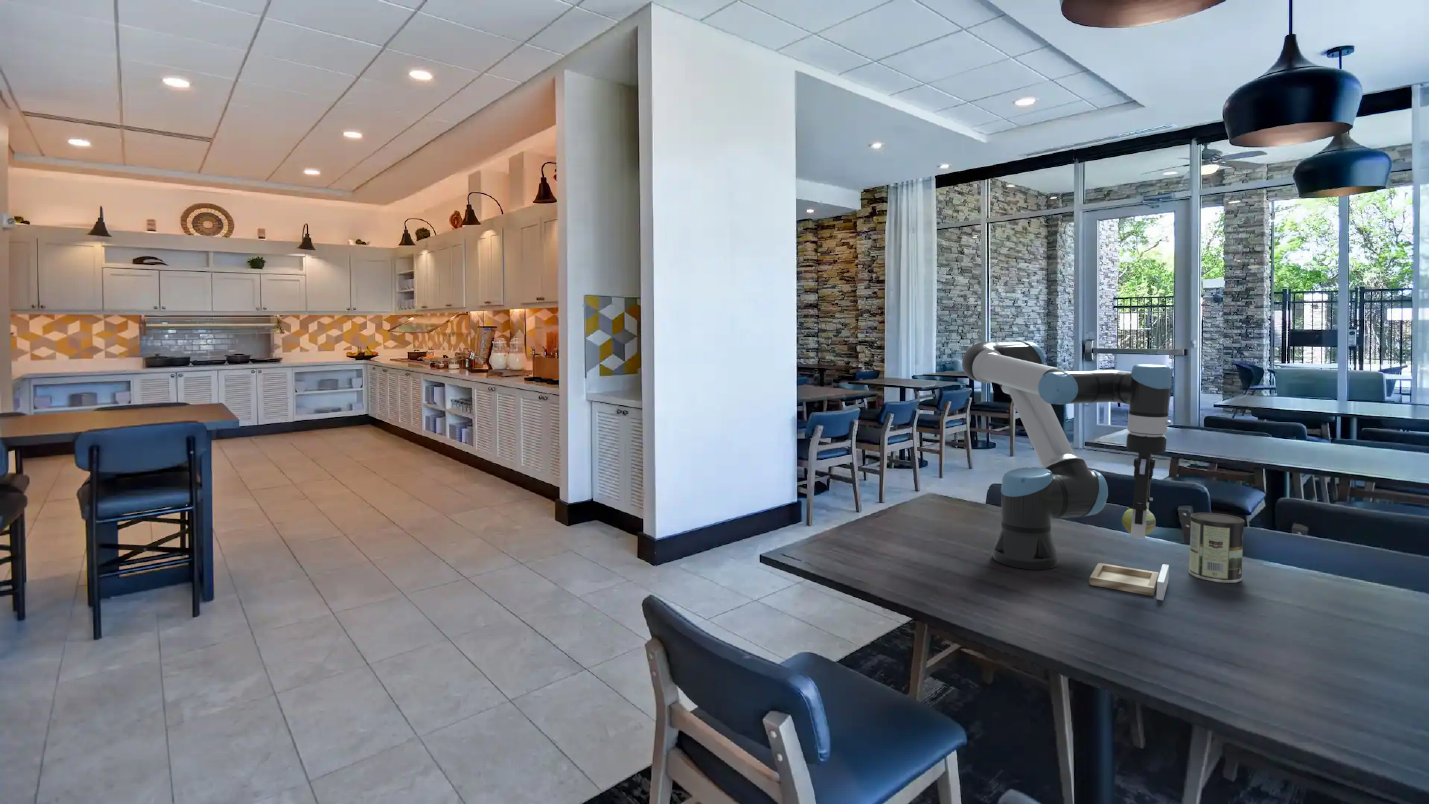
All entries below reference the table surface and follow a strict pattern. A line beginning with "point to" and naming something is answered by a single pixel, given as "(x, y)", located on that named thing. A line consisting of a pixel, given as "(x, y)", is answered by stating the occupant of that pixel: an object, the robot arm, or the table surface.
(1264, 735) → the table surface
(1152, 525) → the tennis ball
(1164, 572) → the panel
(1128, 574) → the tray
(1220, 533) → the coffee can
